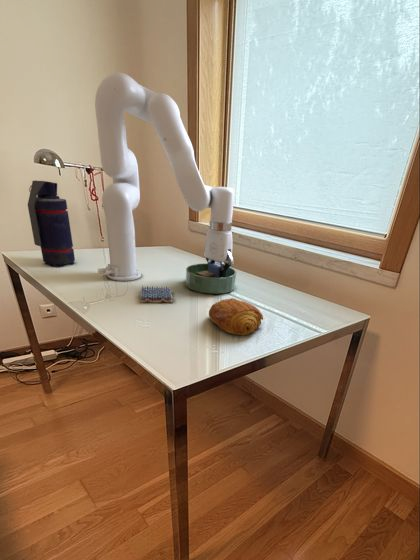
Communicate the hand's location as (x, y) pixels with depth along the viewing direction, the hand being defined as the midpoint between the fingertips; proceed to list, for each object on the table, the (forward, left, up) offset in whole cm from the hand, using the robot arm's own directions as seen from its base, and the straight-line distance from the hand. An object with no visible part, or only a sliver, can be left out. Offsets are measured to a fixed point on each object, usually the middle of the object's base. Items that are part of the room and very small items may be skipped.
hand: (216, 277), depth 119 cm
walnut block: (-7, -1, -2) cm, 7 cm away
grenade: (-38, +55, -3) cm, 66 cm away
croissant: (-21, -28, -3) cm, 35 cm away
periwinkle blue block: (0, 0, 0) cm, 0 cm away
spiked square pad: (-27, +2, -3) cm, 27 cm away
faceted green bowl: (-4, 0, -3) cm, 4 cm away
